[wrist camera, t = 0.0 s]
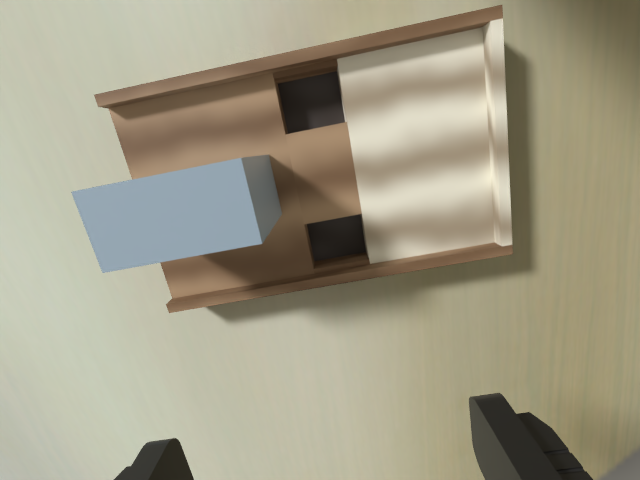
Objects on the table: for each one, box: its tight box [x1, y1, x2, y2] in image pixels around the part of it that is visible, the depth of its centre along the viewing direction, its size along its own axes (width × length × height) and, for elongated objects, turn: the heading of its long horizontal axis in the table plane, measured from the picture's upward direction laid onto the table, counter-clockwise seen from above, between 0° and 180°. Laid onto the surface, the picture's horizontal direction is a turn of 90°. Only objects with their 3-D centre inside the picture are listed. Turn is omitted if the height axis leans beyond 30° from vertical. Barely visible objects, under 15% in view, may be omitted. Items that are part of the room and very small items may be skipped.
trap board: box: [94, 5, 513, 313], centre depth 34 cm, size 22×36×4 cm, turn 100°
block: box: [71, 154, 282, 273], centre depth 29 cm, size 6×12×11 cm, turn 100°
